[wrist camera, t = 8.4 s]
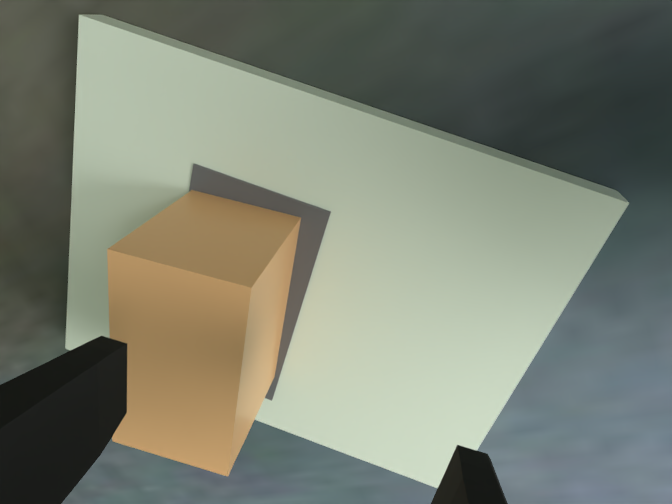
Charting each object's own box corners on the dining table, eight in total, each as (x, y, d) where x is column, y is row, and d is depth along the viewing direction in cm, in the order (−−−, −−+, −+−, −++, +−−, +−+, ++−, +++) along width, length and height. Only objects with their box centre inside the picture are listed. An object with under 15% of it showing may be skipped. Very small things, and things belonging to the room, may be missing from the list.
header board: (617, 190, 16) (668, 243, 12) (450, 470, 23) (450, 560, 19) (102, 14, 17) (5, 14, 13) (82, 333, 23) (13, 393, 20)
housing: (301, 217, 17) (251, 287, 13) (274, 376, 21) (228, 476, 16) (191, 189, 18) (107, 248, 13) (182, 350, 21) (112, 441, 16)
